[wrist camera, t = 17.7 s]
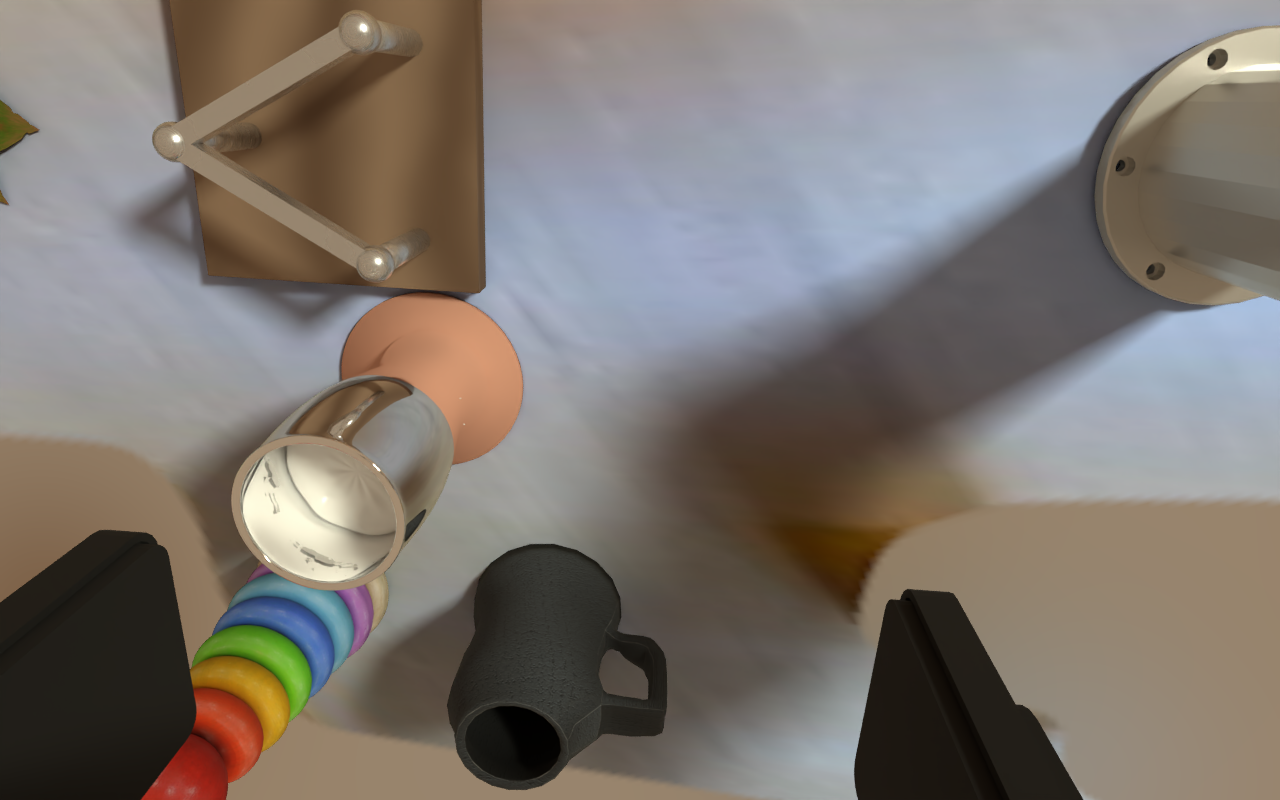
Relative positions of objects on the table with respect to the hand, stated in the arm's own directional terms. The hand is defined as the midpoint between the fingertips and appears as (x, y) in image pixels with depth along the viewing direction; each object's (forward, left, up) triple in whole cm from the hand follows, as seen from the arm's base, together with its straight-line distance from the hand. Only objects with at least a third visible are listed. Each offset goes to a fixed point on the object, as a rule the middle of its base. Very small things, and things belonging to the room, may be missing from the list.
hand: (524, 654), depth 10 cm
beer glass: (+11, +9, -32) cm, 35 cm away
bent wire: (+15, -4, -31) cm, 34 cm away
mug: (+3, +23, -33) cm, 40 cm away
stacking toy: (+18, +22, -32) cm, 43 cm away
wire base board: (+14, -4, -32) cm, 35 cm away
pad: (+11, +9, -32) cm, 35 cm away
